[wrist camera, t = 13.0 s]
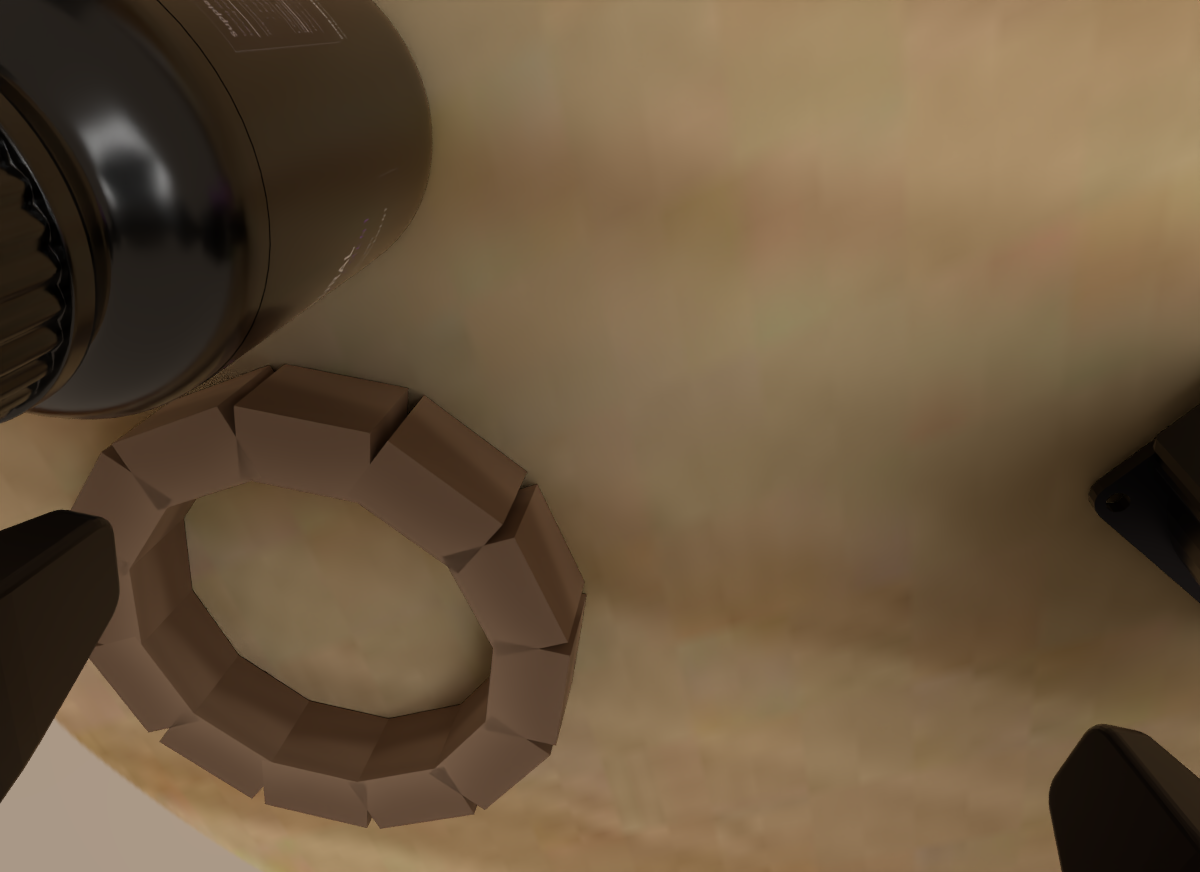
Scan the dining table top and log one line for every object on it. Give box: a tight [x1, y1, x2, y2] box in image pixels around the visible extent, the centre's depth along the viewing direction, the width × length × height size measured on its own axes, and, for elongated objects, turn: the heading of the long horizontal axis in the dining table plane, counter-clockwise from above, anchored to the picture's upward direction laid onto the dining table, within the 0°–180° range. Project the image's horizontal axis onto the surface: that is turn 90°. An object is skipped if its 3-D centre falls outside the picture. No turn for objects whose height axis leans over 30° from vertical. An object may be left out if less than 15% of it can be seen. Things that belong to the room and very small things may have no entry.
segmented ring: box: [71, 364, 587, 829], centre depth 24 cm, size 14×14×2 cm
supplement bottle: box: [0, 0, 433, 423], centre depth 14 cm, size 7×7×12 cm
